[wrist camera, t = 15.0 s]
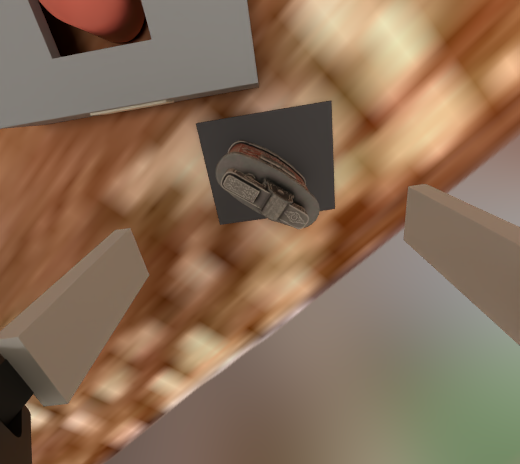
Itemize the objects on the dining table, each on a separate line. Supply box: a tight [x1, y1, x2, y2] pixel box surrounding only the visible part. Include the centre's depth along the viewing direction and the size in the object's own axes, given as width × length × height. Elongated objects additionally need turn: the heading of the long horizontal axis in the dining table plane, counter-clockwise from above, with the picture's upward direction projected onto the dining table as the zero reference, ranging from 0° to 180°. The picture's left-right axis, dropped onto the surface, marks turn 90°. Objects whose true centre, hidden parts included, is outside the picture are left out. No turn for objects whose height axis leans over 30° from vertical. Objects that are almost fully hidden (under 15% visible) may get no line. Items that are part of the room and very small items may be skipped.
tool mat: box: [196, 101, 335, 225], centre depth 26 cm, size 12×10×1 cm
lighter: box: [216, 140, 320, 229], centre depth 21 cm, size 8×3×10 cm, turn 60°
